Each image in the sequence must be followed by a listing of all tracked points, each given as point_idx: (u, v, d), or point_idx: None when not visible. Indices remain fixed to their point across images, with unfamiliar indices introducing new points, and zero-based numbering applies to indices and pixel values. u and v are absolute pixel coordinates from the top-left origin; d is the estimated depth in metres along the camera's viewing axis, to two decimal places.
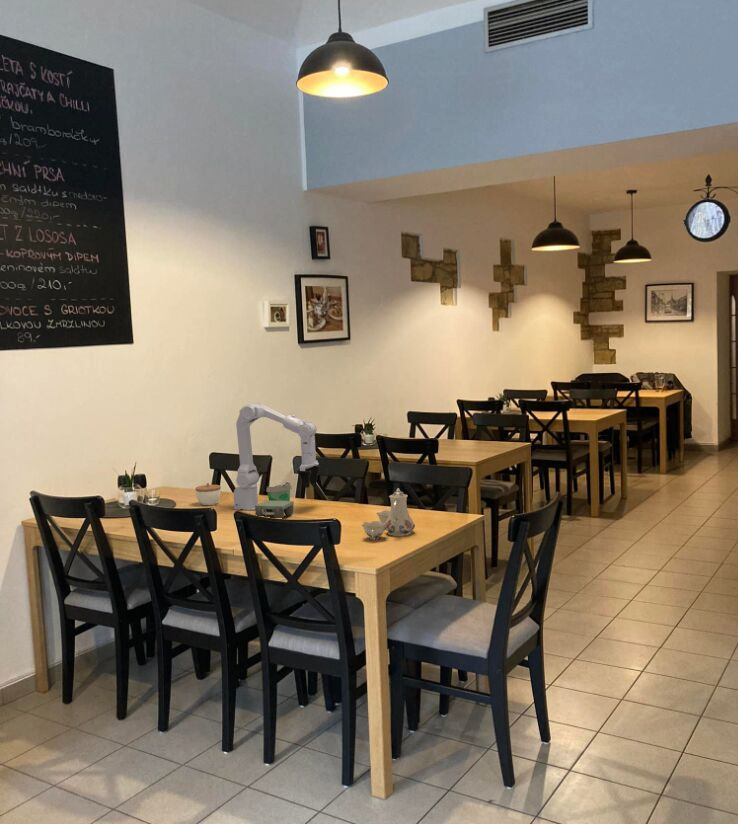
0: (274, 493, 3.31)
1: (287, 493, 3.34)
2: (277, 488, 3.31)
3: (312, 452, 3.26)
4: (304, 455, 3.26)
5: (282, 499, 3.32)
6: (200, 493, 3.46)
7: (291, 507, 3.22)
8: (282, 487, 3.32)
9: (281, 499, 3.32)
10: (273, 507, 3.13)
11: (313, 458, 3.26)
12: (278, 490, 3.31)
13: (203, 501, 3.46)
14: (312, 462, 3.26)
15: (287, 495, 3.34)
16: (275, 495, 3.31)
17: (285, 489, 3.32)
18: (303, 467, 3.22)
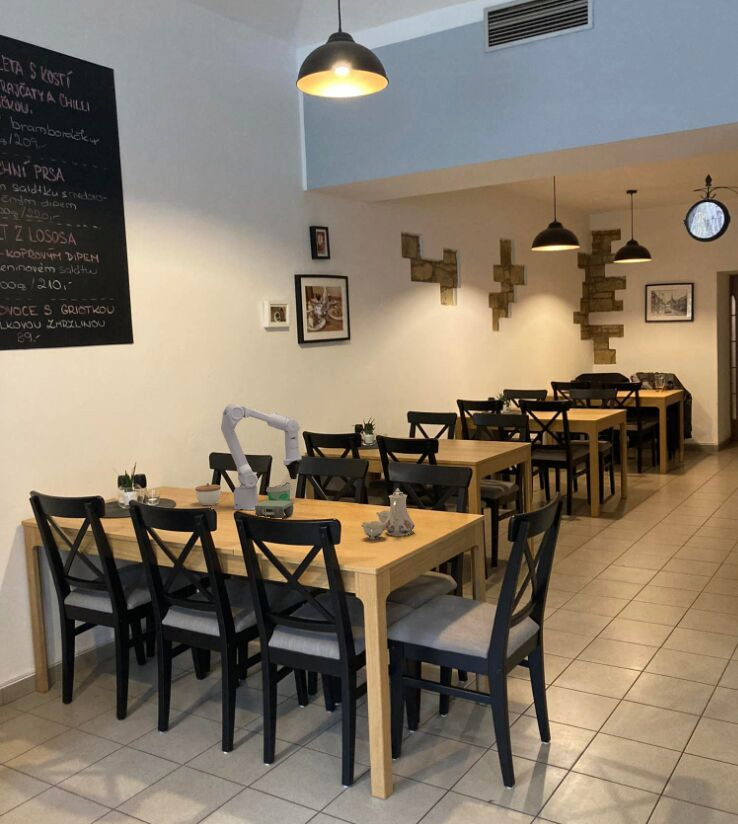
0: (274, 493, 3.31)
1: (287, 493, 3.34)
2: (277, 488, 3.31)
3: (298, 446, 3.44)
4: (288, 450, 3.42)
5: (282, 499, 3.32)
6: (200, 493, 3.46)
7: (291, 507, 3.22)
8: (282, 487, 3.32)
9: (281, 499, 3.32)
10: (273, 507, 3.13)
11: (296, 453, 3.43)
12: (278, 490, 3.31)
13: (203, 501, 3.46)
14: (295, 456, 3.43)
15: (287, 495, 3.34)
16: (275, 495, 3.31)
17: (285, 489, 3.32)
18: (287, 461, 3.38)
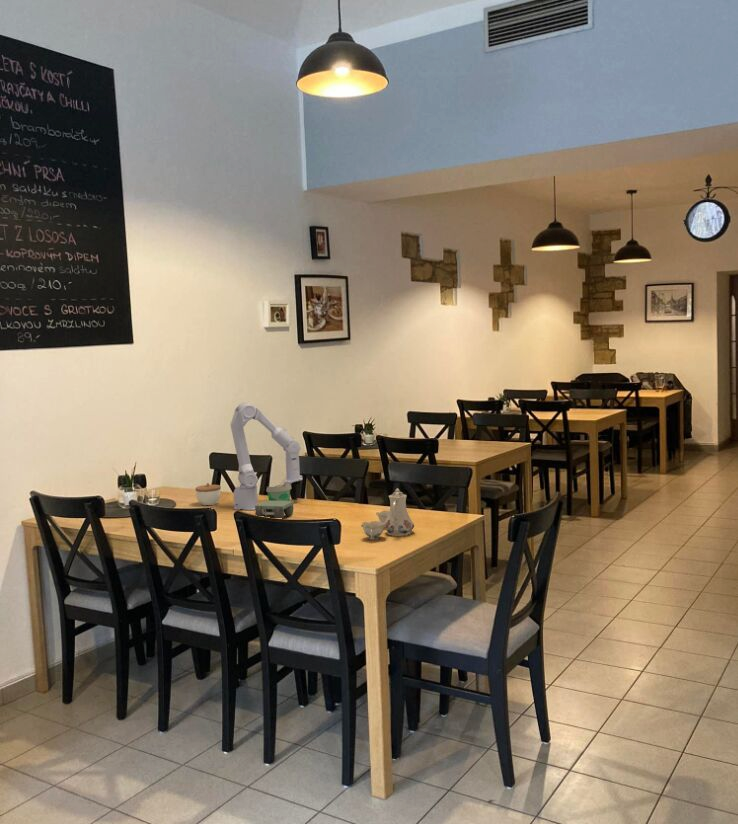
0: (274, 493, 3.31)
1: (287, 493, 3.34)
2: (277, 488, 3.31)
3: None
4: (288, 471, 3.43)
5: (282, 499, 3.32)
6: (200, 493, 3.46)
7: (291, 507, 3.22)
8: (282, 487, 3.32)
9: (281, 499, 3.32)
10: (273, 507, 3.13)
11: (297, 473, 3.43)
12: (278, 490, 3.31)
13: (203, 501, 3.46)
14: (296, 477, 3.43)
15: (287, 495, 3.34)
16: (275, 495, 3.31)
17: (285, 489, 3.32)
18: (287, 482, 3.39)
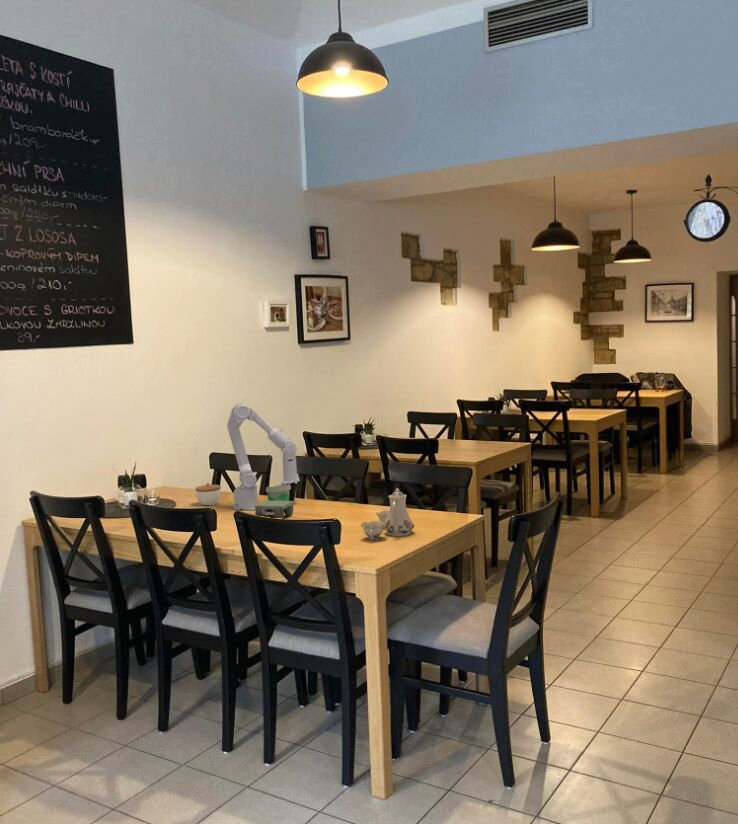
0: (273, 493, 3.31)
1: (286, 493, 3.33)
2: (276, 488, 3.30)
3: (295, 468, 3.41)
4: (285, 472, 3.40)
5: (281, 499, 3.32)
6: (200, 493, 3.46)
7: (291, 507, 3.22)
8: (281, 487, 3.31)
9: (280, 499, 3.32)
10: (273, 507, 3.13)
11: (294, 475, 3.40)
12: (277, 490, 3.30)
13: (203, 501, 3.46)
14: (293, 478, 3.40)
15: (286, 495, 3.33)
16: (274, 495, 3.31)
17: (284, 489, 3.32)
18: (284, 484, 3.36)
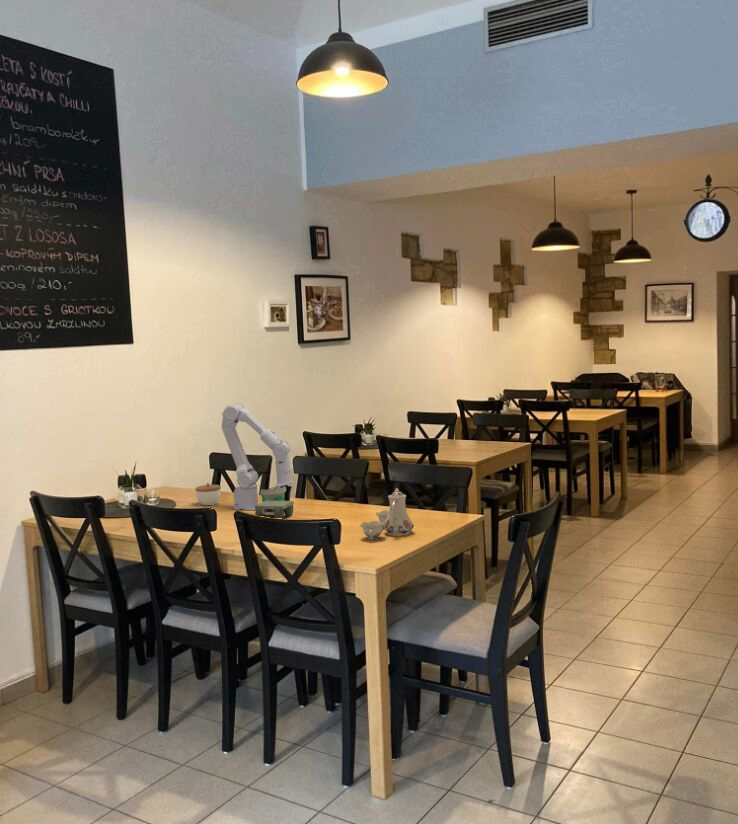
0: (268, 496, 3.26)
1: (281, 496, 3.28)
2: (271, 491, 3.25)
3: (287, 471, 3.33)
4: (279, 474, 3.33)
5: None
6: (200, 493, 3.46)
7: (291, 507, 3.22)
8: (276, 490, 3.26)
9: None
10: (273, 507, 3.13)
11: (287, 477, 3.33)
12: (272, 493, 3.25)
13: (203, 501, 3.46)
14: (287, 481, 3.33)
15: (281, 498, 3.28)
16: (269, 498, 3.26)
17: (279, 492, 3.26)
18: (278, 486, 3.28)
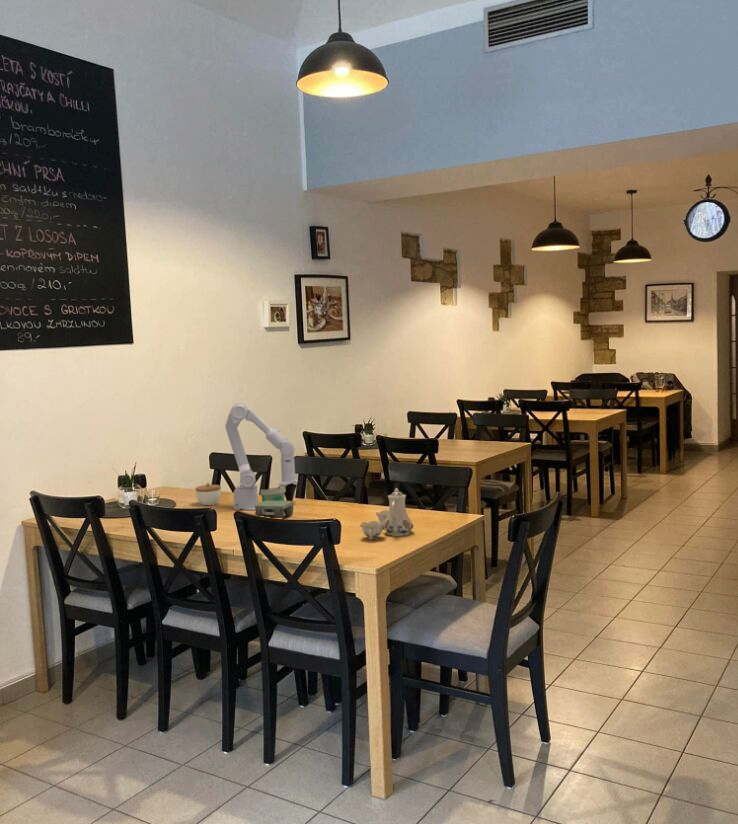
0: (268, 496, 3.26)
1: (281, 496, 3.28)
2: (271, 491, 3.25)
3: (293, 469, 3.39)
4: (284, 473, 3.38)
5: None
6: (200, 493, 3.46)
7: (291, 507, 3.22)
8: (276, 490, 3.26)
9: None
10: (273, 507, 3.13)
11: (292, 475, 3.38)
12: (272, 493, 3.25)
13: (203, 501, 3.46)
14: (291, 479, 3.38)
15: (281, 498, 3.28)
16: (269, 498, 3.26)
17: (279, 492, 3.27)
18: (282, 484, 3.34)
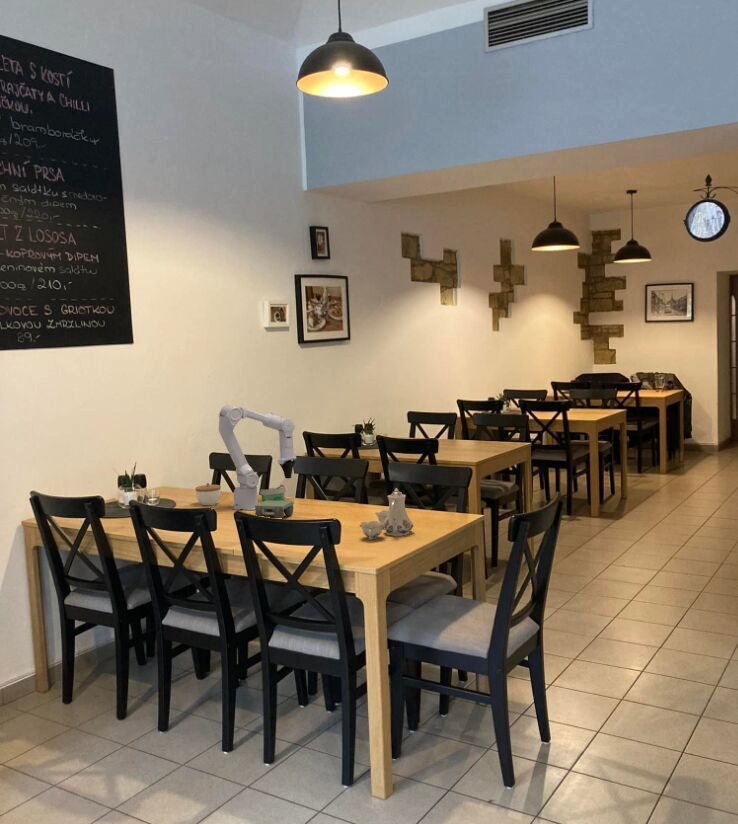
0: (268, 496, 3.26)
1: (281, 496, 3.28)
2: (271, 491, 3.25)
3: None
4: (282, 449, 3.44)
5: None
6: (200, 493, 3.46)
7: (291, 507, 3.22)
8: (276, 490, 3.26)
9: None
10: (273, 507, 3.13)
11: (290, 452, 3.45)
12: (272, 493, 3.25)
13: (203, 501, 3.46)
14: (290, 456, 3.44)
15: (281, 498, 3.28)
16: (269, 498, 3.26)
17: (279, 492, 3.27)
18: (281, 460, 3.40)
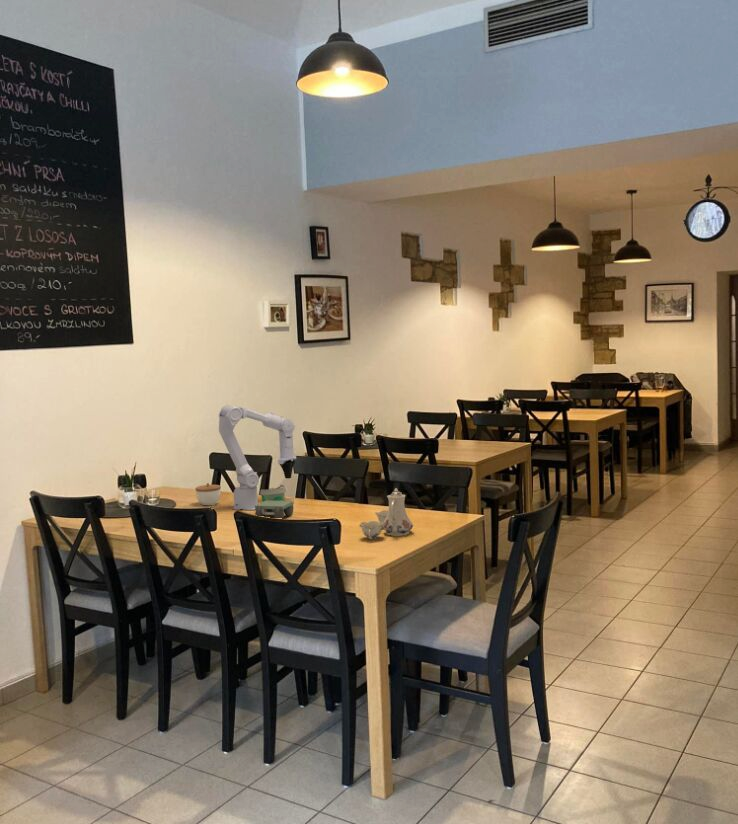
0: (268, 496, 3.26)
1: (281, 496, 3.28)
2: (271, 491, 3.25)
3: None
4: (282, 449, 3.44)
5: None
6: (200, 493, 3.46)
7: (291, 507, 3.22)
8: (276, 490, 3.26)
9: None
10: (273, 507, 3.13)
11: (290, 452, 3.45)
12: (272, 493, 3.25)
13: (203, 501, 3.46)
14: (290, 456, 3.44)
15: (281, 498, 3.28)
16: (269, 498, 3.26)
17: (279, 492, 3.27)
18: (281, 460, 3.40)
